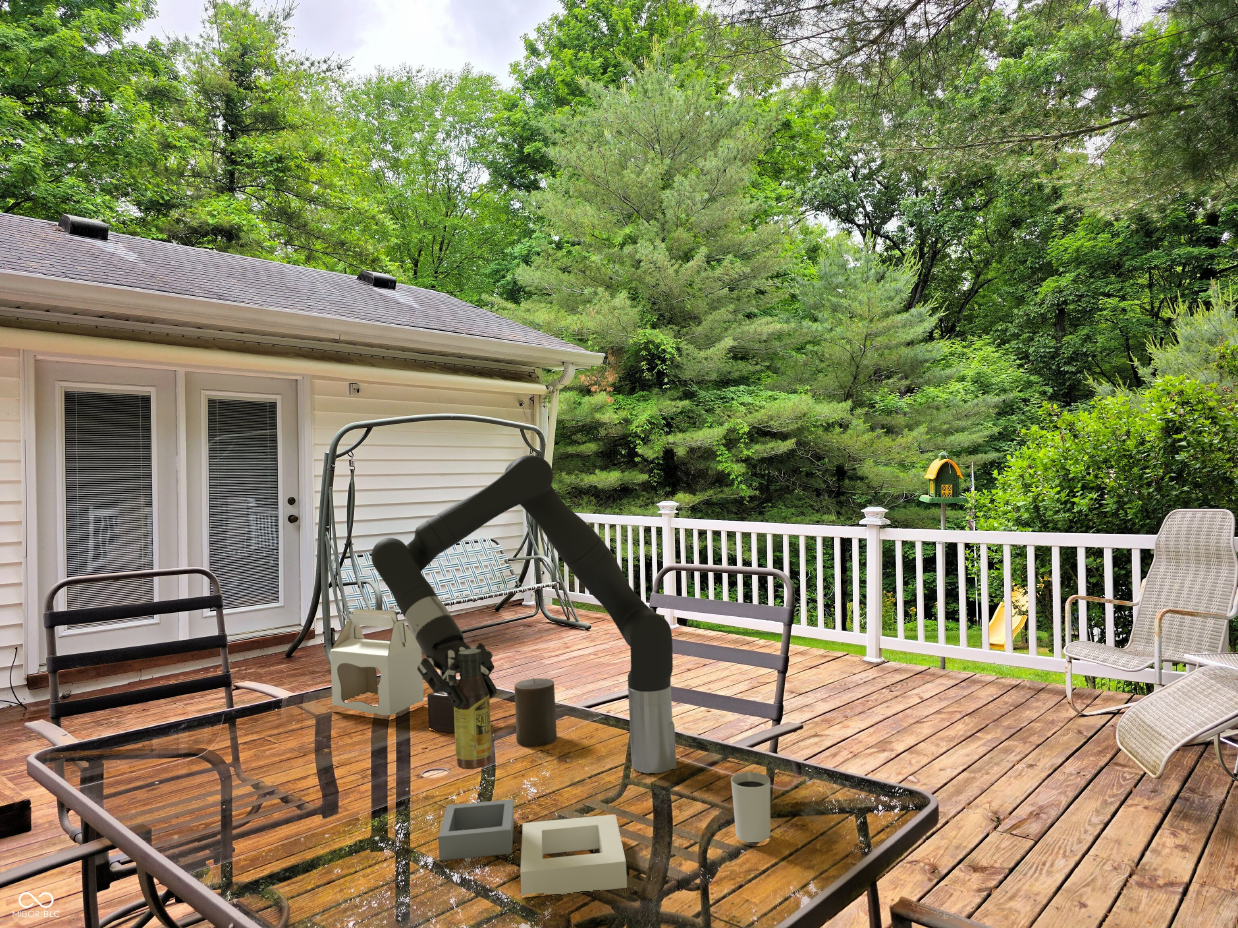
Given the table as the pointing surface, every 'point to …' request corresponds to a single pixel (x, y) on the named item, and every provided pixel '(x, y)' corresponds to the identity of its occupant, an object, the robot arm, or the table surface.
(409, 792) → the table surface
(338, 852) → the table surface
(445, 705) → the manual coffee grinder
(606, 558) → the robot arm
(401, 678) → the gable box
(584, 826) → the socket collar
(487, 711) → the sauce bottle
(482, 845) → the frame
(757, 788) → the white coffee cup
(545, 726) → the pillar candle
